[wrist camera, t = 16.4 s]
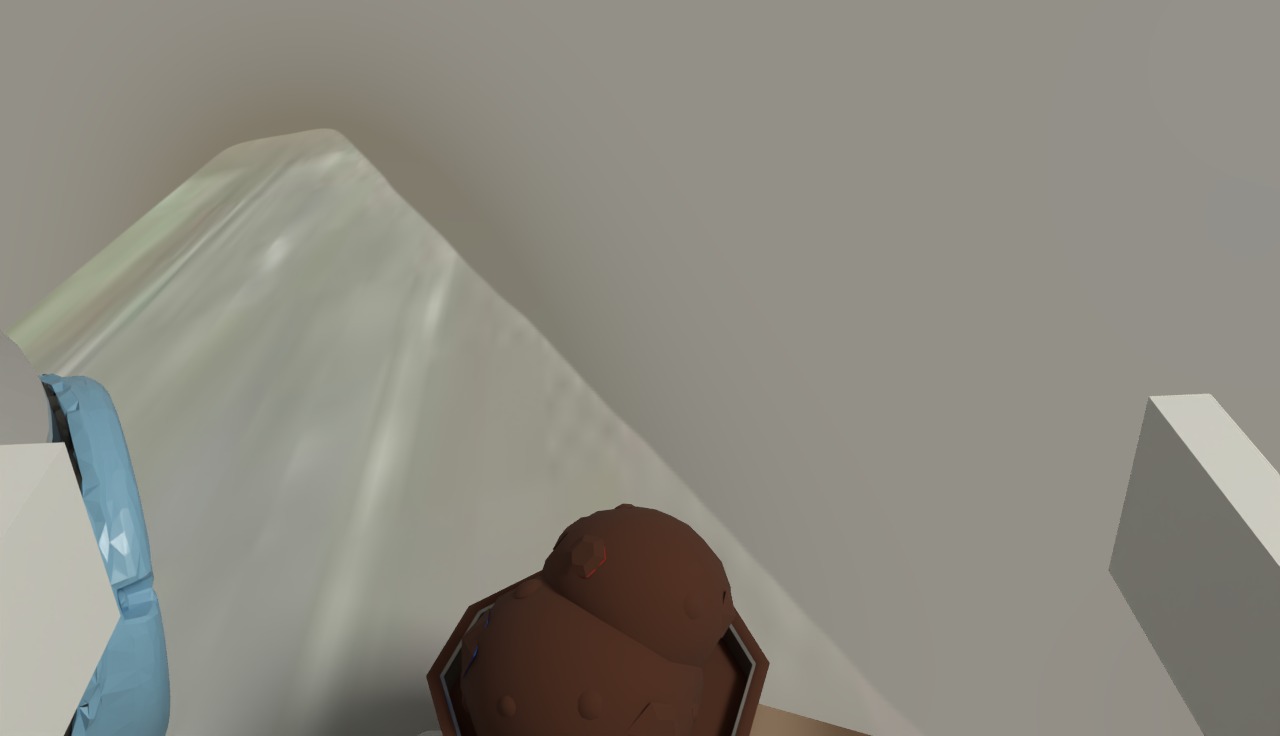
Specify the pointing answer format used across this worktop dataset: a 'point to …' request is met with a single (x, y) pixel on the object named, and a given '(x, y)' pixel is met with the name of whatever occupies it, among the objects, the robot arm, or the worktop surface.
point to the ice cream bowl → (606, 641)
